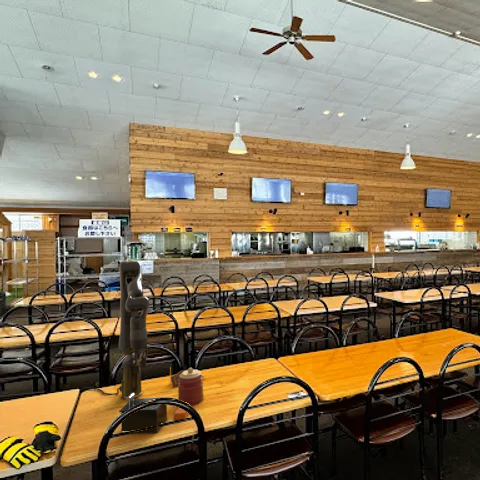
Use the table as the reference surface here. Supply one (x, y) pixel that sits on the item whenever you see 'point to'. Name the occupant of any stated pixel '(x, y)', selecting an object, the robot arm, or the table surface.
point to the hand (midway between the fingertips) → (140, 370)
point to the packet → (180, 414)
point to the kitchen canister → (190, 386)
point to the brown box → (174, 379)
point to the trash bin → (145, 420)
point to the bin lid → (134, 402)
